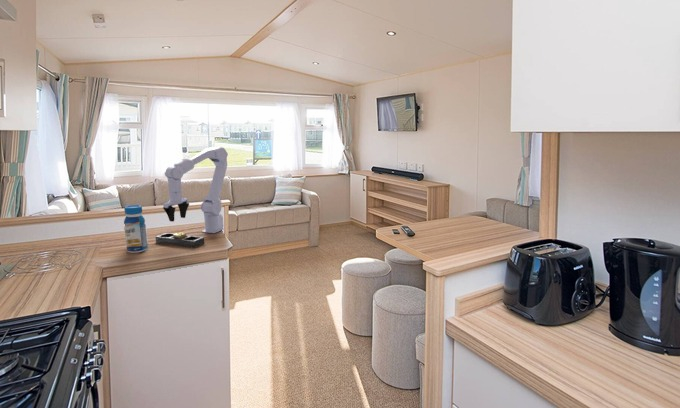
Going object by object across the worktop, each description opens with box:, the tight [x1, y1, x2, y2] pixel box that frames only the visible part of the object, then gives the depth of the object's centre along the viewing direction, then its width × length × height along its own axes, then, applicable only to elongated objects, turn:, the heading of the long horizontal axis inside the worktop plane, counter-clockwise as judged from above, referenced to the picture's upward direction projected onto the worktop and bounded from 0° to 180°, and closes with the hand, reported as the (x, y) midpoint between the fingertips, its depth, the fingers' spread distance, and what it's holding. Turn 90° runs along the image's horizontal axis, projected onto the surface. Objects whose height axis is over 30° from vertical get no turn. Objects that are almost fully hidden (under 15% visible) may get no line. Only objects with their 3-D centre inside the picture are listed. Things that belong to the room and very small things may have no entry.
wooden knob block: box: [173, 231, 187, 239], centre depth 183 cm, size 4×4×4 cm
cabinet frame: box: [155, 232, 205, 249], centre depth 183 cm, size 7×22×3 cm, turn 71°
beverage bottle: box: [123, 204, 148, 254], centre depth 170 cm, size 8×8×20 cm
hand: (177, 219), depth 188 cm, fingers open, 7 cm apart
